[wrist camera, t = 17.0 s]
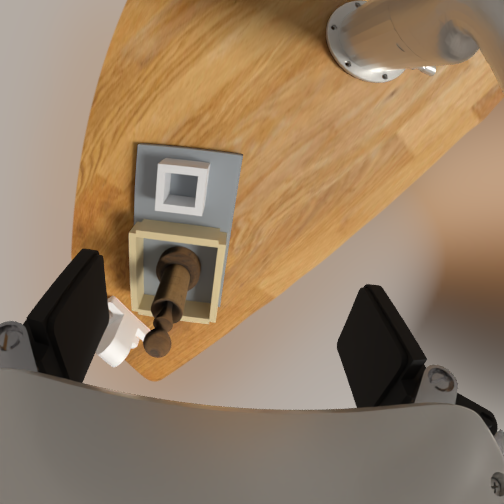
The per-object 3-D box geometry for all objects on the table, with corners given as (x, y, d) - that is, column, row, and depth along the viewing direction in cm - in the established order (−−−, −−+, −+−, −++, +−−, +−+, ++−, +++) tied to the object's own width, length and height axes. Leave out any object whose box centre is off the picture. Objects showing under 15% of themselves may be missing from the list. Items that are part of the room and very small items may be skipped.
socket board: (242, 154, 39) (243, 161, 35) (219, 304, 50) (218, 325, 46) (140, 143, 38) (127, 149, 33) (137, 293, 49) (129, 312, 44)
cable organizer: (134, 342, 54) (121, 381, 45) (96, 307, 50) (76, 344, 41) (152, 331, 53) (140, 372, 44) (113, 294, 49) (93, 332, 40)
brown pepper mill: (204, 282, 47) (192, 372, 31) (164, 286, 47) (137, 373, 31) (196, 243, 44) (176, 326, 28) (154, 248, 44) (115, 330, 28)
